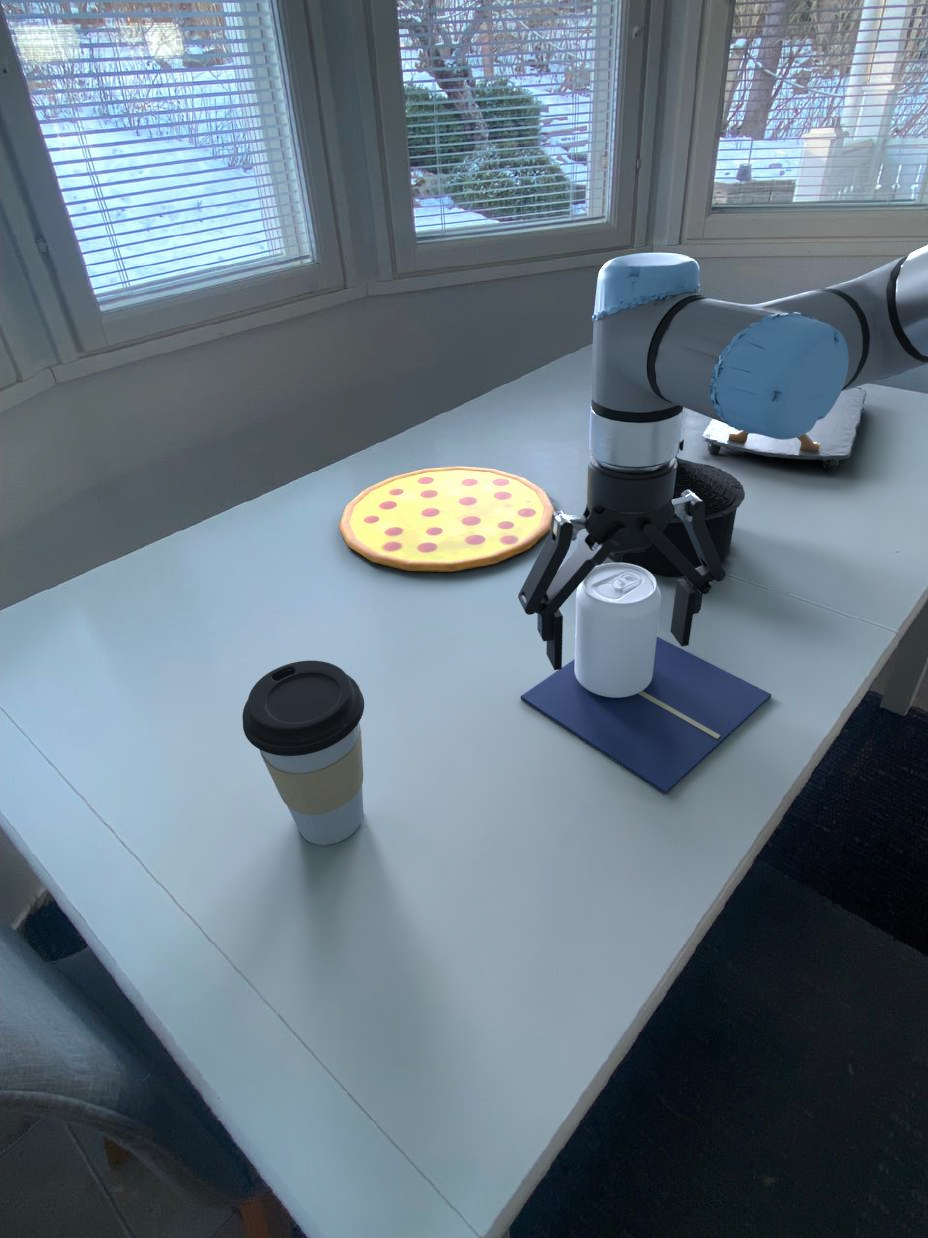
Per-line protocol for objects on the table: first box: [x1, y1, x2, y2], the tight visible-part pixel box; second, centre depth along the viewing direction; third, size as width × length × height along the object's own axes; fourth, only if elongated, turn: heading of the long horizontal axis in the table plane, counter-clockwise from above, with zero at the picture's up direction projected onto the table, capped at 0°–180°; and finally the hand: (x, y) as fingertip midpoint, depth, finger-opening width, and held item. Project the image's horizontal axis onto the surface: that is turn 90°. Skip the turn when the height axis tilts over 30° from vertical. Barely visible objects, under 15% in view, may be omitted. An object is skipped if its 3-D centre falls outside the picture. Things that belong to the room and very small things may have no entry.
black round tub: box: [607, 439, 746, 578], centre depth 95 cm, size 18×18×15 cm
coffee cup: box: [241, 659, 365, 846], centre depth 60 cm, size 9×9×15 cm
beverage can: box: [574, 562, 662, 698], centre depth 74 cm, size 8×8×12 cm
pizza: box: [338, 465, 555, 573], centre depth 109 cm, size 32×32×1 cm
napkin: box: [520, 636, 772, 795], centre depth 75 cm, size 18×18×1 cm
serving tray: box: [700, 386, 867, 472], centre depth 128 cm, size 39×23×6 cm, turn 152°
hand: (617, 650), depth 75 cm, fingers open, 13 cm apart
